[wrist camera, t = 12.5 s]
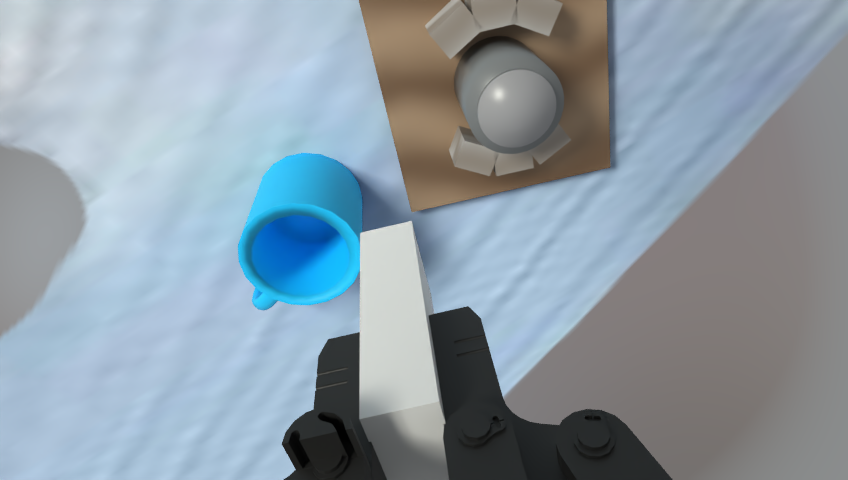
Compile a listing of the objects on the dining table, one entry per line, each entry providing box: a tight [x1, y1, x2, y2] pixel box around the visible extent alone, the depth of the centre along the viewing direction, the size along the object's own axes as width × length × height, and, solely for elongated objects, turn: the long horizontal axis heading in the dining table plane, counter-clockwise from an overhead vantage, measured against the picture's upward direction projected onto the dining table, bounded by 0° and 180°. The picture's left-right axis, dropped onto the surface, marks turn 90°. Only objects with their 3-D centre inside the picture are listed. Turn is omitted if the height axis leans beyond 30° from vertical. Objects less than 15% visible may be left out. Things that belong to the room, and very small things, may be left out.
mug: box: [238, 153, 362, 310], centre depth 41 cm, size 12×8×8 cm
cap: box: [454, 36, 564, 154], centre depth 36 cm, size 6×6×6 cm
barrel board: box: [359, 0, 610, 212], centre depth 38 cm, size 18×16×4 cm
